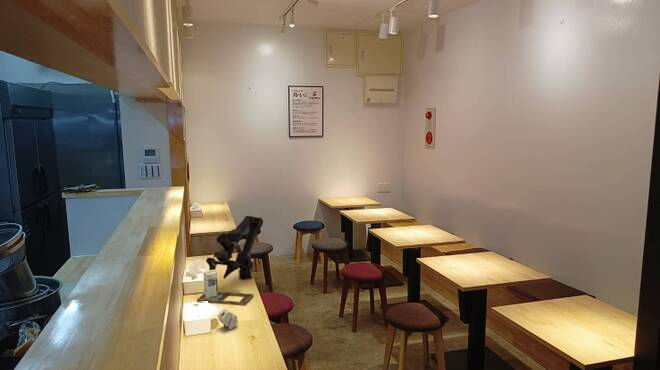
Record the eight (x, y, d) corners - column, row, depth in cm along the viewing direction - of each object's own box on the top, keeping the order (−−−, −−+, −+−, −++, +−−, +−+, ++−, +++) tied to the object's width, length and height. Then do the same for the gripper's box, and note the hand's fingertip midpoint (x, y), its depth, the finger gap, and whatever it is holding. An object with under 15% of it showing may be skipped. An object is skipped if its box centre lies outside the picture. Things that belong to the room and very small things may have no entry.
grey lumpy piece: (227, 328, 204) (213, 317, 199) (236, 316, 206) (223, 305, 201) (233, 333, 199) (219, 321, 194) (242, 320, 202) (229, 309, 197)
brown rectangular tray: (253, 296, 236) (253, 294, 236) (245, 305, 225) (245, 302, 225) (207, 293, 241) (207, 290, 241) (197, 301, 230) (196, 299, 230)
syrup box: (207, 300, 231) (206, 274, 229) (204, 297, 236) (203, 271, 234) (218, 298, 234) (217, 272, 232) (214, 294, 239) (213, 269, 237)
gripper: (206, 243, 244) (195, 268, 236) (235, 246, 237) (224, 272, 229) (216, 253, 253) (205, 277, 244) (244, 256, 246) (233, 282, 237)
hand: (216, 277), depth 238 cm, fingers open, 9 cm apart
